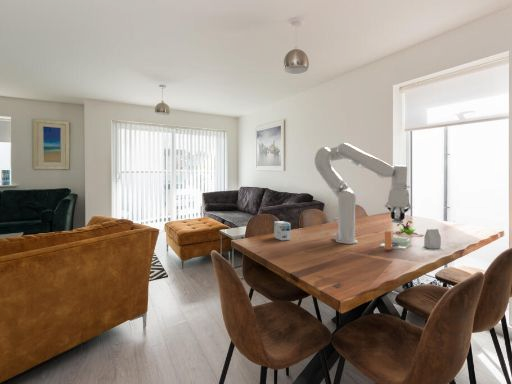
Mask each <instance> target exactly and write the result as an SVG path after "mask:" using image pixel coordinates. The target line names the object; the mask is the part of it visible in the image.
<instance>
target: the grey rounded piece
mask: <svg viewBox="0 0 512 384" xmlns="http://www.w3.org/2000/svg"><path fill="white" fill-rule="evenodd" d="M401 213H402V209H401V208H400V207H394V219H391V222H392V223H395V224H400V223H401V224H404V220H401Z"/></svg>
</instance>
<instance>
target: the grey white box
mask: <svg viewBox="0 0 512 384" xmlns="http://www.w3.org/2000/svg"><path fill="white" fill-rule="evenodd" d="M423 237H424V238H423V239H424V242H423V243H424V244H423V247H424V248H427V249H441V247H442V246H441V245H442V244H441V243H442V242H441V241H442V237H441V234H440V231H439V229H438V228H433V229H432V228H431V229H430V228H429V229H426V231H425V233H424V236H423Z"/></svg>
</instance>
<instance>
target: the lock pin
mask: <svg viewBox="0 0 512 384" xmlns="http://www.w3.org/2000/svg"><path fill="white" fill-rule="evenodd" d="M393 233H394V231H392V230H385V231H384V238H385V247H384V250H390V251H391V250H393V248H392V247H393V246H394V245H395V244H393V243H392V242H393V237H394V236H393V235H394V234H393Z"/></svg>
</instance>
